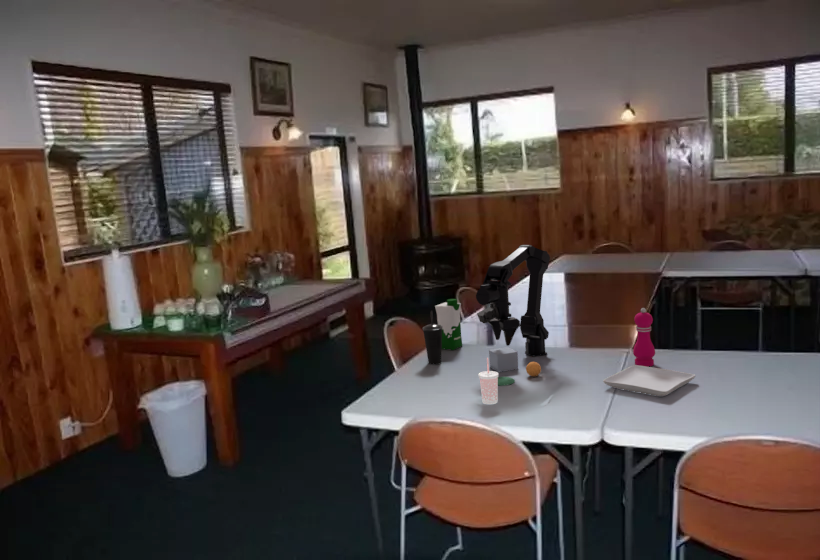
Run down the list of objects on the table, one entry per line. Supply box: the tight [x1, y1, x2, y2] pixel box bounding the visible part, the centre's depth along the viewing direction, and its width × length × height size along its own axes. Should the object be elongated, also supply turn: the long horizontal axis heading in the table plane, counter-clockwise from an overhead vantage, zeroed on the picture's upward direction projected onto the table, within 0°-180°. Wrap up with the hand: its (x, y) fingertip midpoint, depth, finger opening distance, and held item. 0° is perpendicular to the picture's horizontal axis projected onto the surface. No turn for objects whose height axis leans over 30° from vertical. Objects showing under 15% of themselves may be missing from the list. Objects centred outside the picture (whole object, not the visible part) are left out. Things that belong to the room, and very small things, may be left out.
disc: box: [498, 376, 516, 387], centre depth 226 cm, size 9×9×1 cm
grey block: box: [488, 346, 519, 373], centre depth 241 cm, size 8×8×6 cm
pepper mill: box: [632, 307, 656, 367], centre depth 232 cm, size 7×7×20 cm
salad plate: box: [602, 364, 696, 397], centre depth 211 cm, size 21×21×3 cm
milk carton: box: [434, 298, 463, 351], centre depth 274 cm, size 9×9×20 cm
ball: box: [525, 361, 542, 377], centre depth 229 cm, size 5×5×5 cm
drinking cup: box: [422, 310, 443, 365], centre depth 253 cm, size 8×8×20 cm
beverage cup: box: [477, 357, 499, 405], centre depth 206 cm, size 6×6×14 cm
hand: (502, 342), depth 240 cm, fingers open, 9 cm apart
